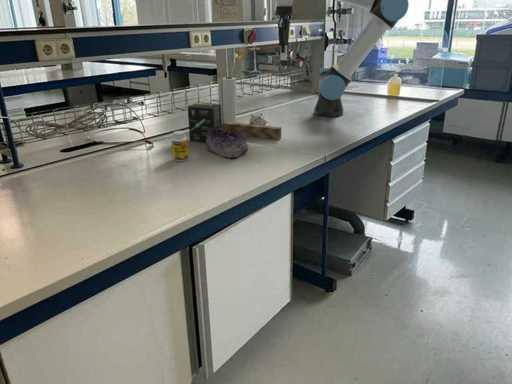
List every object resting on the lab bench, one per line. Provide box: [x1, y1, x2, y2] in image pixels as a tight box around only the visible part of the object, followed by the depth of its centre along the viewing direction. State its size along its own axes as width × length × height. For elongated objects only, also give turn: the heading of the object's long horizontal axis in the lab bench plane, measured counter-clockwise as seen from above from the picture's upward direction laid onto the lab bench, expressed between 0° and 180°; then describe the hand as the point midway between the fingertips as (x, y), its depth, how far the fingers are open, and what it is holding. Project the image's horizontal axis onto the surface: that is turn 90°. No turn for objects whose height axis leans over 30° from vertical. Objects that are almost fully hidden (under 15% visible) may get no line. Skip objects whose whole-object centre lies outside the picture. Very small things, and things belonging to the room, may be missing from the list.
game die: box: [248, 113, 269, 126], centre depth 185 cm, size 9×8×10 cm
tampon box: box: [187, 102, 222, 144], centre depth 173 cm, size 11×9×15 cm
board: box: [222, 122, 282, 142], centre depth 179 cm, size 26×3×5 cm, turn 69°
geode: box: [206, 125, 249, 160], centre depth 159 cm, size 20×12×10 cm, turn 47°
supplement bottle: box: [171, 130, 189, 163], centre depth 151 cm, size 6×6×10 cm
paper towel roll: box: [217, 76, 237, 123], centre depth 196 cm, size 7×6×21 cm
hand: (283, 59), depth 199 cm, fingers closed
